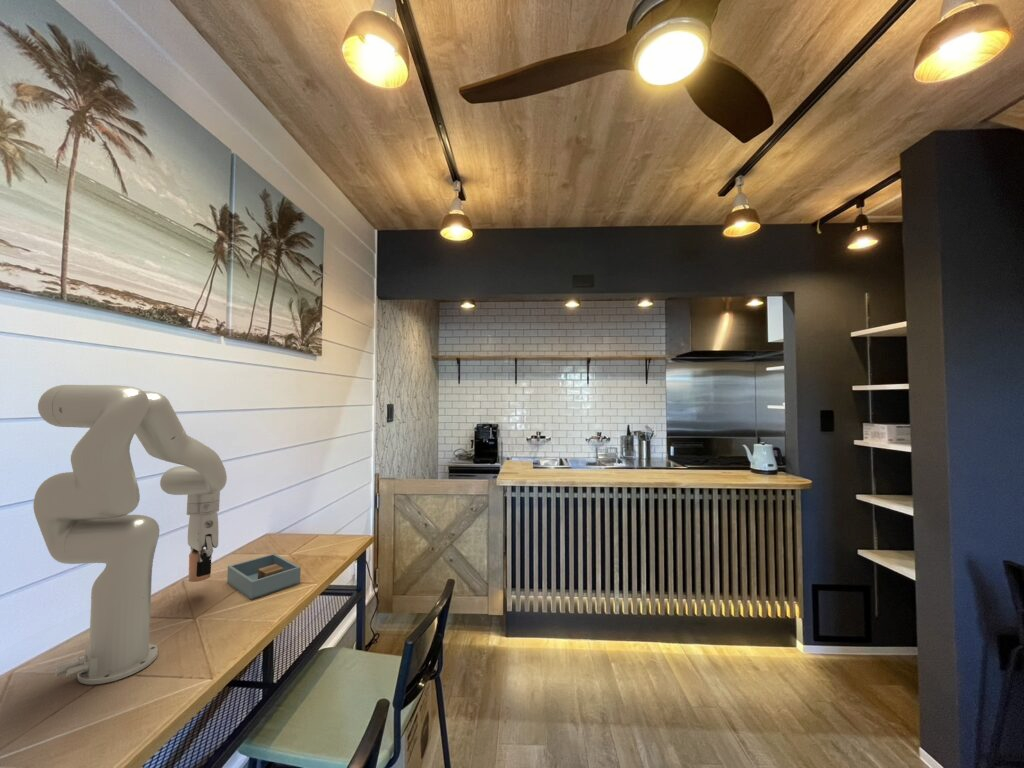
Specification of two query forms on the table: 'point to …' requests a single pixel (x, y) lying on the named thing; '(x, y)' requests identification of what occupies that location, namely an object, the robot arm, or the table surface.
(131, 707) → the table surface
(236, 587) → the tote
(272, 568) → the walnut cube
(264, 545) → the table surface
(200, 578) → the salmon orange cylinder
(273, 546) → the table surface
